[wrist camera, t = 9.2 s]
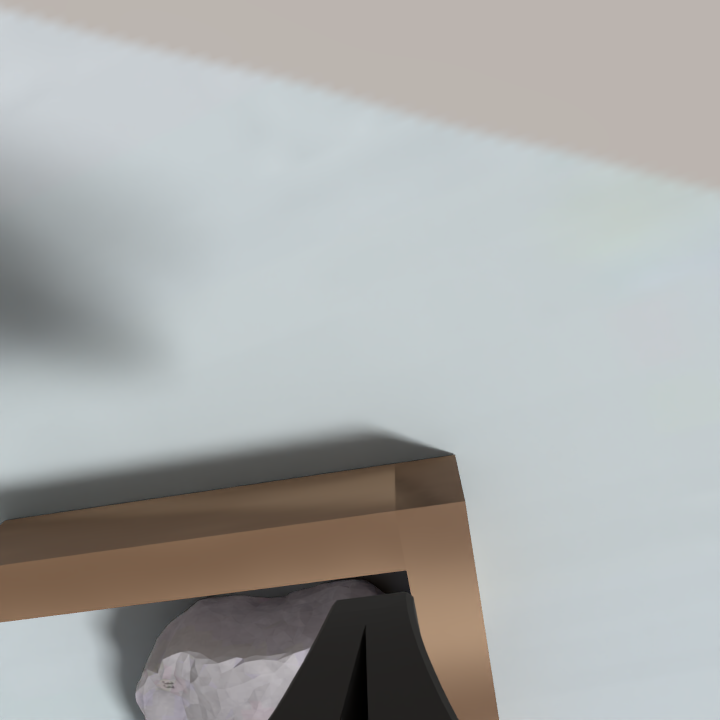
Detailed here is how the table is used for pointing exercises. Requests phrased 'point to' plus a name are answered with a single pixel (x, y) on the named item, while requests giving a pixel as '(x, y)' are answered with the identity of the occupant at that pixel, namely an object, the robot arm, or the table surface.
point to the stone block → (236, 653)
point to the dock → (270, 555)
